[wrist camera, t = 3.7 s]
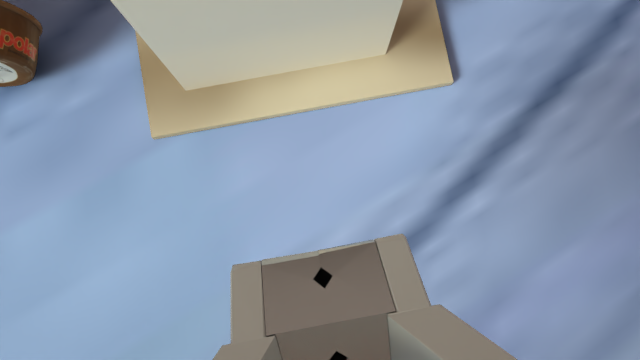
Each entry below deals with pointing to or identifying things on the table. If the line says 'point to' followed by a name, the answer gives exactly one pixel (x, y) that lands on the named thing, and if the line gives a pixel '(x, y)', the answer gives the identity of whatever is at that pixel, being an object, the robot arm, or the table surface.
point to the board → (302, 81)
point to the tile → (258, 35)
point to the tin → (17, 45)
